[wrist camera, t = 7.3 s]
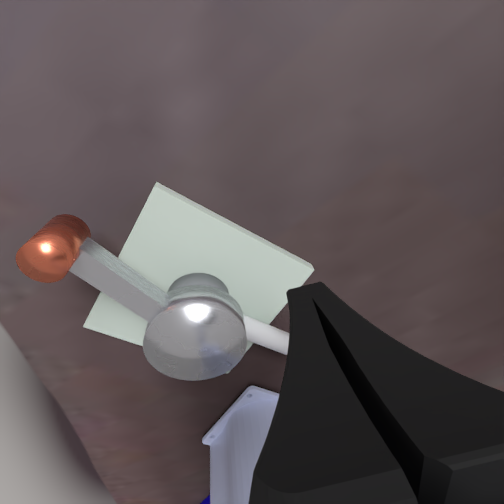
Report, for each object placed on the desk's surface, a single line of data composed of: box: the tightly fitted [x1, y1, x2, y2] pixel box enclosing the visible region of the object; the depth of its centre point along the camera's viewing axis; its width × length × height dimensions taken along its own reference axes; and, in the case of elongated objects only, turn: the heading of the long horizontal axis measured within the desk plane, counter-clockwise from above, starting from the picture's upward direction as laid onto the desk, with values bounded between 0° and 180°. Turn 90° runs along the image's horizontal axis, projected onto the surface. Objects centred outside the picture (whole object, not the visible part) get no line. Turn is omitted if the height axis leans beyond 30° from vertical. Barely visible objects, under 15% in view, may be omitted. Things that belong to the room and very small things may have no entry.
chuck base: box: [83, 182, 314, 374], centre depth 22 cm, size 12×14×3 cm
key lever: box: [16, 214, 247, 381], centre depth 17 cm, size 13×6×3 cm, turn 41°
